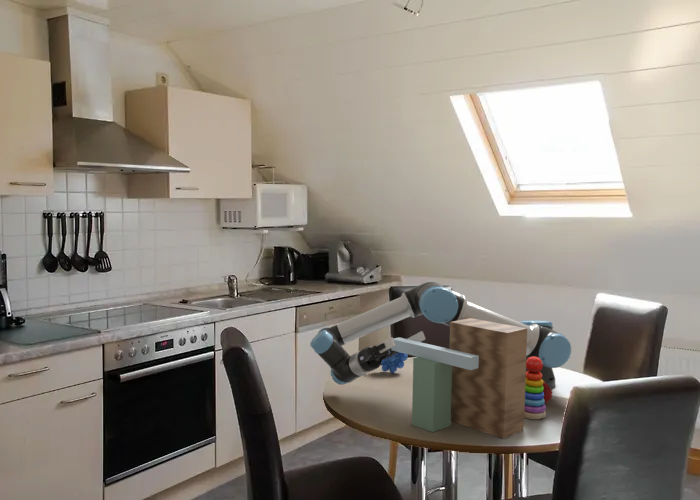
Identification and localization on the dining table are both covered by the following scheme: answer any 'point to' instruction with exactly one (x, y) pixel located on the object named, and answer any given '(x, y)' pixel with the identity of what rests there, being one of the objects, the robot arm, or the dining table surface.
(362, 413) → the dining table surface
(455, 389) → the stand
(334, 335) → the robot arm
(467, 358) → the rod
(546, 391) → the onion
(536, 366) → the stacking toy
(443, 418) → the post
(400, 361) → the blue bumpy round piece
